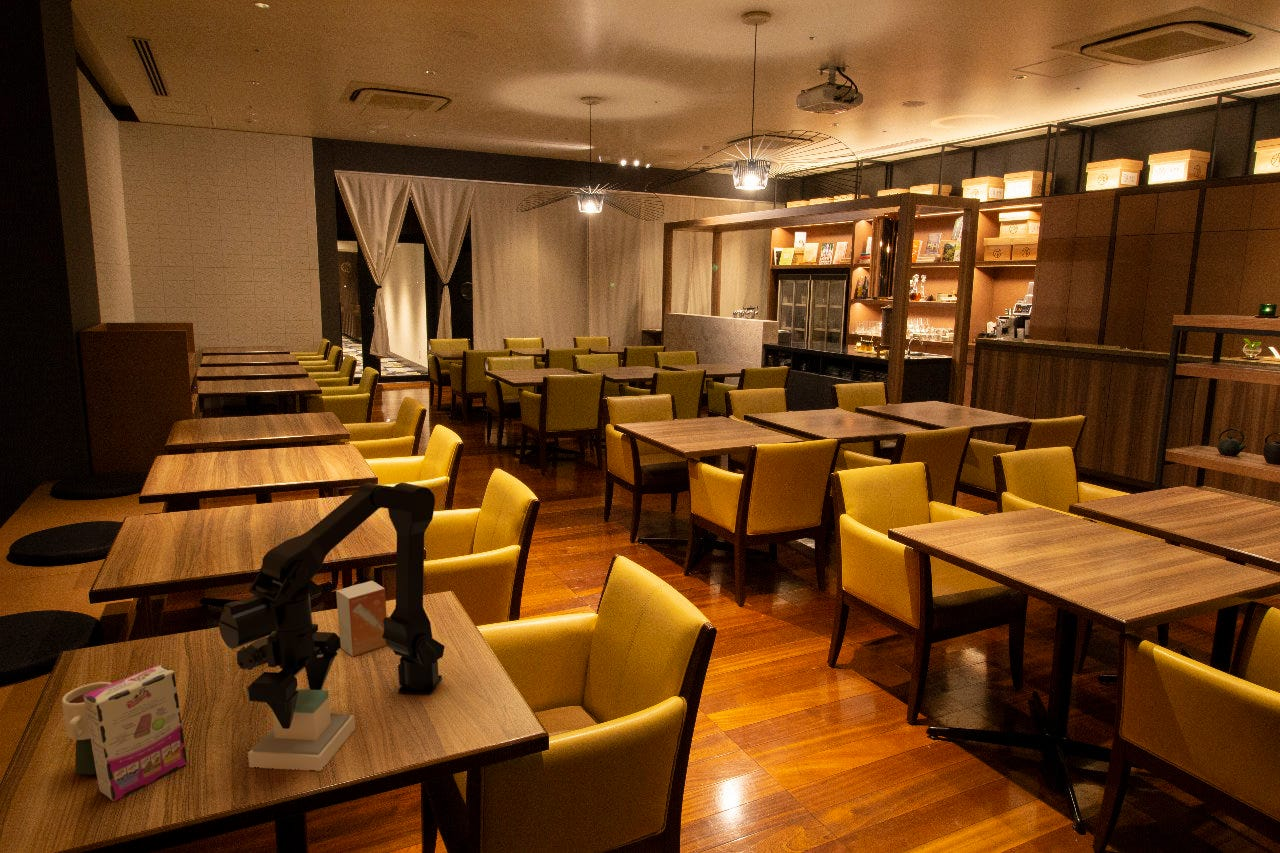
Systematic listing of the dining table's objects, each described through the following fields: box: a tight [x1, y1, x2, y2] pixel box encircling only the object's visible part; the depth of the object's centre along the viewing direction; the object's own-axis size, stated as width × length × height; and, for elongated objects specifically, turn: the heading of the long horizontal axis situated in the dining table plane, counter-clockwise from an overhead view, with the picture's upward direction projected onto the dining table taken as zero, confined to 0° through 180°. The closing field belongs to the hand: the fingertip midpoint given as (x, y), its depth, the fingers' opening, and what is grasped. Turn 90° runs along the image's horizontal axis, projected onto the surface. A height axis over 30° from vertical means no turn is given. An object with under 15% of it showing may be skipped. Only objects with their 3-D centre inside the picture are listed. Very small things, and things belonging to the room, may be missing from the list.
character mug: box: [61, 681, 113, 775], centre depth 123 cm, size 11×7×13 cm, turn 8°
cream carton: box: [271, 688, 331, 740], centre depth 128 cm, size 5×7×6 cm
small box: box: [335, 580, 388, 658], centre depth 164 cm, size 8×6×13 cm
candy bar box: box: [83, 664, 188, 802], centre depth 120 cm, size 11×5×16 cm, turn 148°
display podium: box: [247, 712, 356, 772], centre depth 129 cm, size 12×12×3 cm
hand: (301, 712), depth 128 cm, fingers open, 9 cm apart
